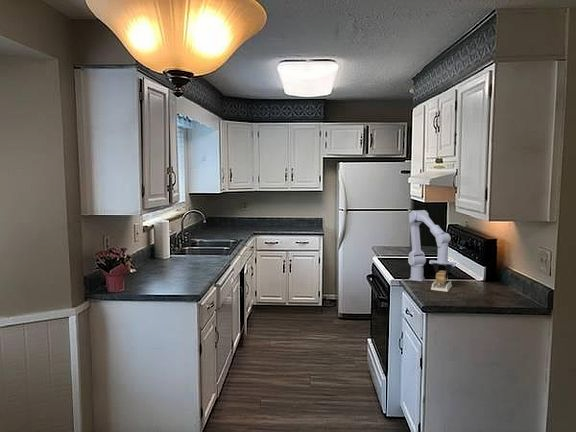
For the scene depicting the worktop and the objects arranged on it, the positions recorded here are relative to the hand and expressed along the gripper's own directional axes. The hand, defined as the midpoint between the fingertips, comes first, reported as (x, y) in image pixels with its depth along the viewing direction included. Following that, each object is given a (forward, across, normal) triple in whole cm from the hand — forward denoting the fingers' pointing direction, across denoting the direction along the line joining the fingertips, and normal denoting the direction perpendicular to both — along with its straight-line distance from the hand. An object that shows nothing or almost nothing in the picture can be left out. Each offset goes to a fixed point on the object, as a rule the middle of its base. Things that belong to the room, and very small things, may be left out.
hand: (441, 277), depth 262 cm
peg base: (+6, 0, 0) cm, 6 cm away
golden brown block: (+2, 0, 0) cm, 2 cm away
